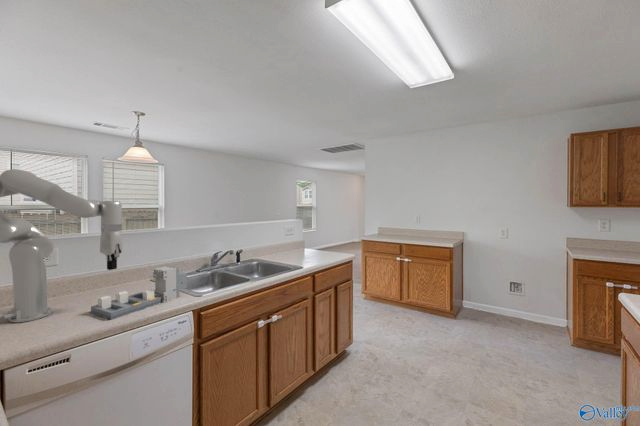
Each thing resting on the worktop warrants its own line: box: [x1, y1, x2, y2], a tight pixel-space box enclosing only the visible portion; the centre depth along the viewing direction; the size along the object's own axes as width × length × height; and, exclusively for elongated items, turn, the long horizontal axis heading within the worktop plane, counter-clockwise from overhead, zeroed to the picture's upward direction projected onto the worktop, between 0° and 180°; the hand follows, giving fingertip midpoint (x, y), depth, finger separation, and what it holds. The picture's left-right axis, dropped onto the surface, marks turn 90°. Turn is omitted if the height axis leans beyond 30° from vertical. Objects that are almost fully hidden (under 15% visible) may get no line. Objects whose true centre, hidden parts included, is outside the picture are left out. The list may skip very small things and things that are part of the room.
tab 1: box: [97, 295, 112, 309], centre depth 120 cm, size 4×3×5 cm
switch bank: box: [90, 291, 162, 320], centre depth 125 cm, size 21×15×3 cm
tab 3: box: [142, 288, 155, 300], centre depth 129 cm, size 4×3×5 cm
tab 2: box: [115, 290, 129, 304], centre depth 127 cm, size 4×3×5 cm
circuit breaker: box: [152, 265, 188, 303], centre depth 139 cm, size 8×14×15 cm, turn 155°
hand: (112, 269), depth 126 cm, fingers closed
